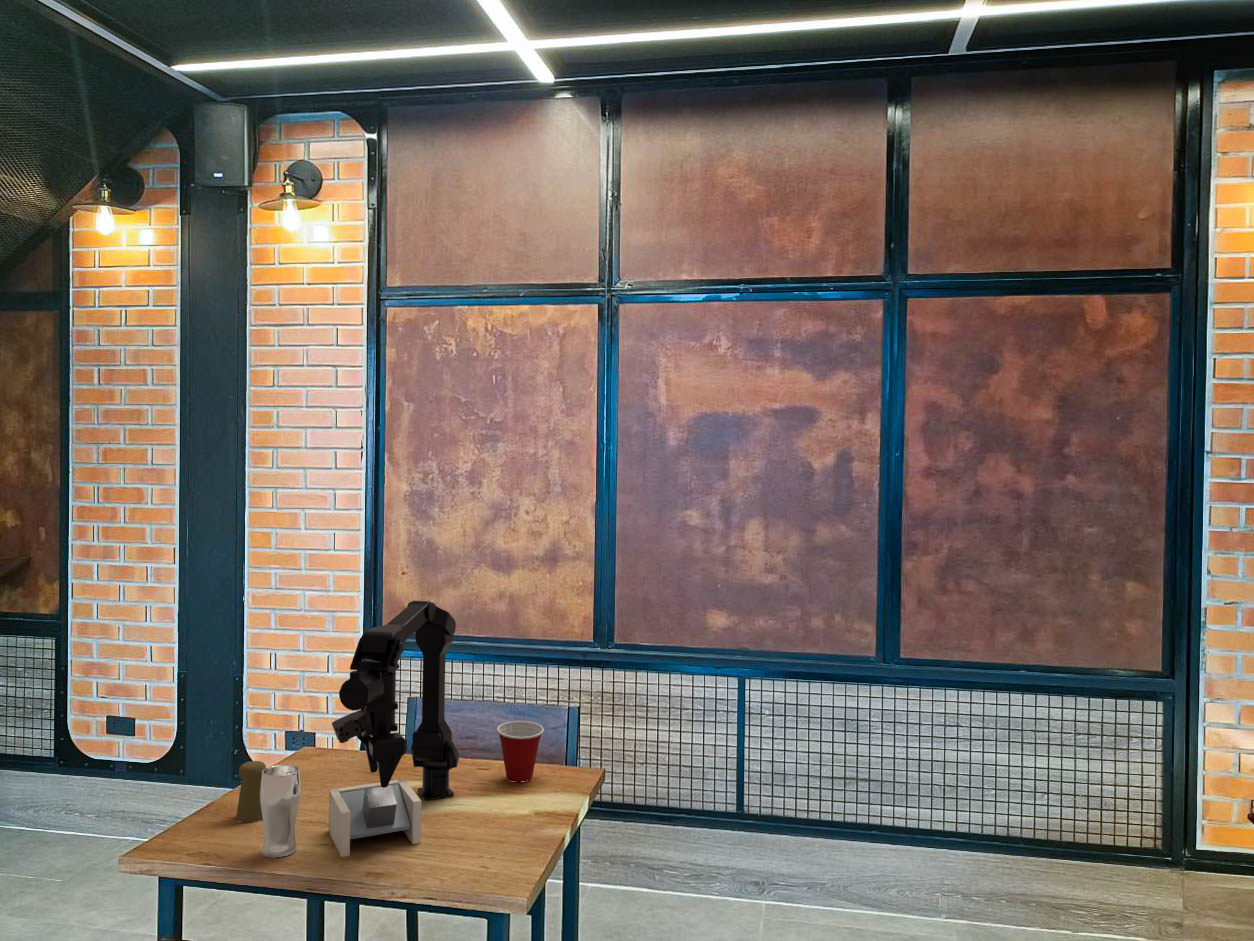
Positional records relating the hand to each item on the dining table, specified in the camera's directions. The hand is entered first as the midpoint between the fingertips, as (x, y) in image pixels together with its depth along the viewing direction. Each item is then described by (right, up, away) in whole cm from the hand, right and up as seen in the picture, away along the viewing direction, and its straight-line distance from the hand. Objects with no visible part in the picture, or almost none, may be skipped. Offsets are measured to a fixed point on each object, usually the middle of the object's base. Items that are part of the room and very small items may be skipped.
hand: (378, 779), depth 170 cm
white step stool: (-2, -12, +3) cm, 12 cm away
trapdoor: (-1, -7, +3) cm, 8 cm away
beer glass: (-17, -12, -4) cm, 21 cm away
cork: (-29, -12, +12) cm, 34 cm away
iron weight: (0, -7, 0) cm, 7 cm away
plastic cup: (+22, -13, +37) cm, 45 cm away
